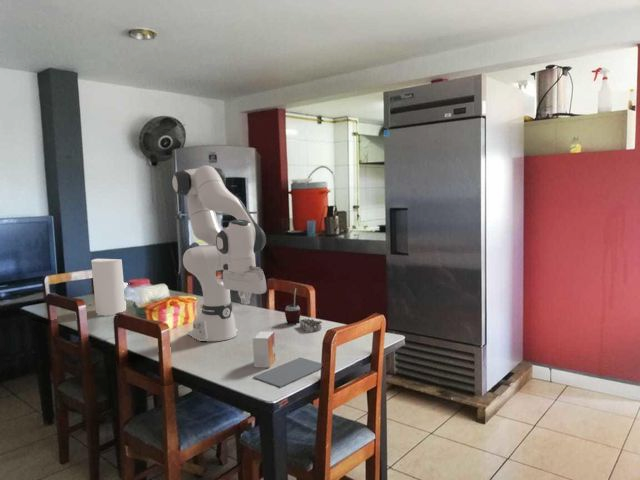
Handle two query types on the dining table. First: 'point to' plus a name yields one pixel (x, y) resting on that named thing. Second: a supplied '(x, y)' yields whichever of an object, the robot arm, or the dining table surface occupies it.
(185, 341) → the dining table surface
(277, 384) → the slate mat
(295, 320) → the mate gourd
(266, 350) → the small box
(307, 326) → the egg carton
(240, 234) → the robot arm
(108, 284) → the cylinder
